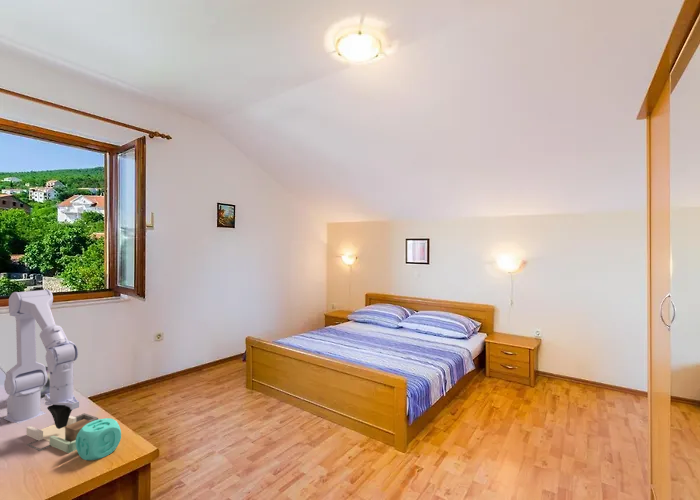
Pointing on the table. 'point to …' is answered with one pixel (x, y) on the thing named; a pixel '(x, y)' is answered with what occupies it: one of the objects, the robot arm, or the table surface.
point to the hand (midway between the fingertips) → (61, 426)
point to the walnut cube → (74, 429)
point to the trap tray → (56, 434)
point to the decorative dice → (98, 439)
